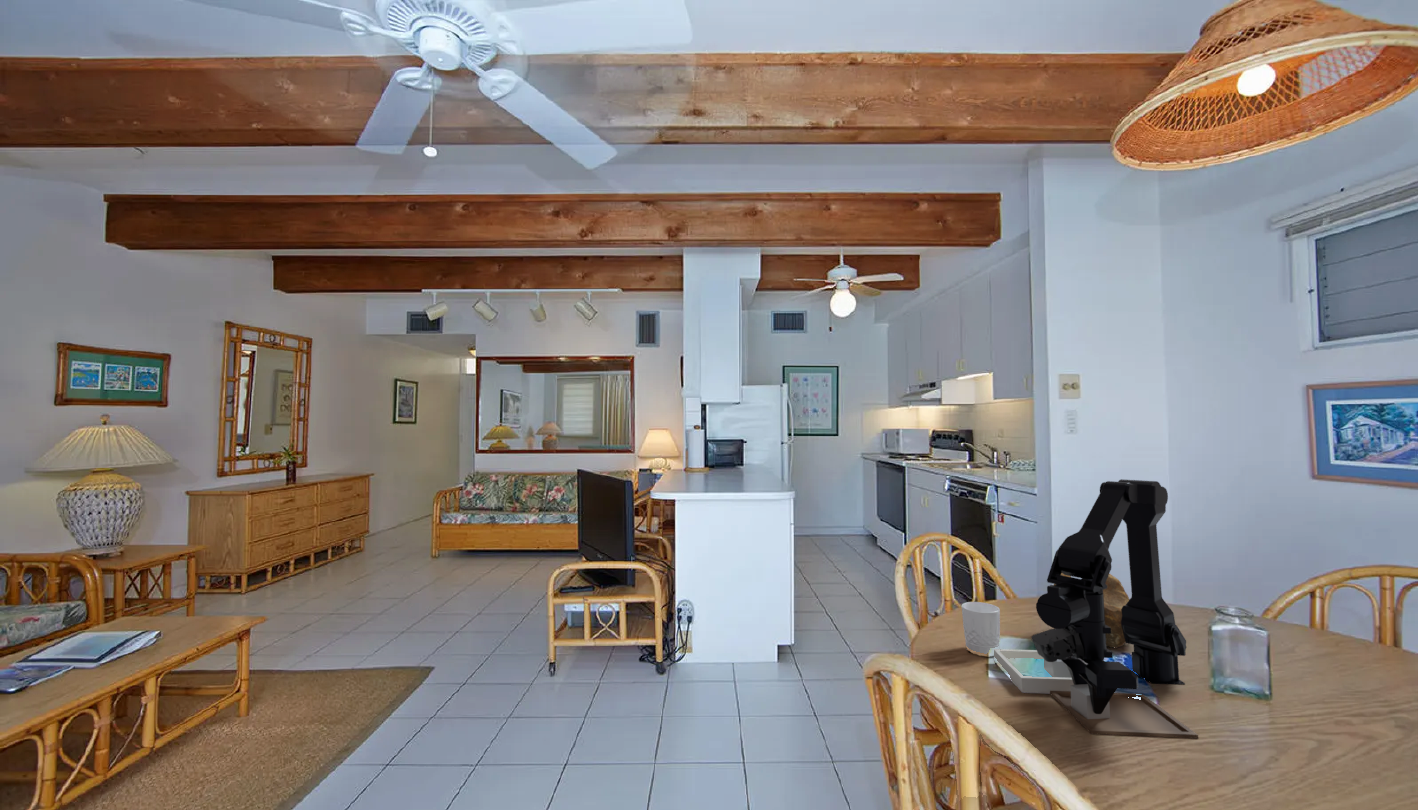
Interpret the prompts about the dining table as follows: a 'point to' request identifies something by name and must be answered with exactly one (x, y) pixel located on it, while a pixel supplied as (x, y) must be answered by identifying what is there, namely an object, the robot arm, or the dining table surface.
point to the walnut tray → (1129, 717)
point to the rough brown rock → (1113, 610)
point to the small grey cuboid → (1085, 702)
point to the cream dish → (1028, 682)
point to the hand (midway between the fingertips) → (1090, 706)
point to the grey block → (1057, 669)
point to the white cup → (981, 626)
